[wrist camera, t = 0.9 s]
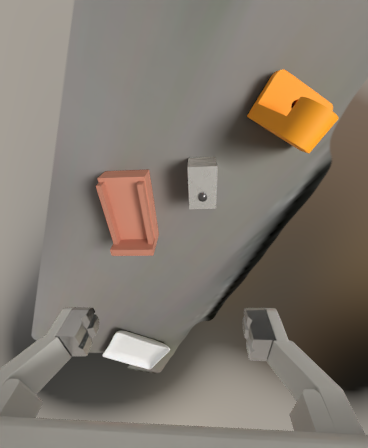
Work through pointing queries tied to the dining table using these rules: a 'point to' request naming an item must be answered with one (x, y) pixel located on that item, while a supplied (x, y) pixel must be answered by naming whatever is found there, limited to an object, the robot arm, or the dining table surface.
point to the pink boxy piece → (129, 211)
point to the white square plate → (135, 349)
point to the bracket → (293, 111)
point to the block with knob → (202, 182)
